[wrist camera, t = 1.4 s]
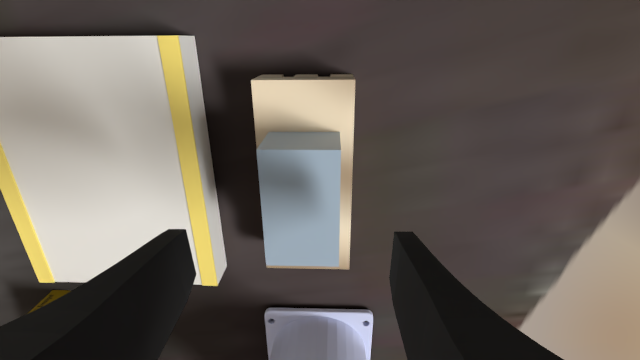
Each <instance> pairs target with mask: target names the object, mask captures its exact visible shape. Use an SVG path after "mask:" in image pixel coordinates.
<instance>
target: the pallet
mask: <svg viewBox="0 0 640 360" xmlns="http://www.w3.org/2000/svg"><path fill="white" fill-rule="evenodd" d="M251 87H252V99H253V111H254V123H255V135H256V146H257V148H258V147H259V145H260V144H261V142H262V141H263V139H264V138H265V137H266V135H267V134H268V132H340V143H341V177H340V233H339V267H328V266H269V265H267V268H307V269H349V260H350V229H351V198H352V167H353V137H354V106H355V78H354V76H353V75H352V74H330V77H318V74H296V75H295V76H294V77H284V74H268V75H260V76H258V77H256V78H254V79H252V80H251Z"/></svg>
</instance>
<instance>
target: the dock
mask: <svg viewBox="0 0 640 360" xmlns="http://www.w3.org/2000/svg"><path fill="white" fill-rule="evenodd" d="M0 189H1V191H2V194H3V196H4V199H5V201H6V203H7V206H8V208H9V211H10V213H11V216H12V218H13V220H14V223H15V225H16V228H17V230H18V232H19V235H20V237H21V240H22V242H23V244H24V247H25V249H26V252H27V254H28V256H29V259H30V261H31V264H32V266H33V268H34V271H35V273H36V276H37V278H38V280H39V283H54V282H87V281H89V280H91V279H92V278H94V277H95V276H97V275H99V274H100V273H102V272H104V271H105V270H107V269H108V268H110V267H112V266H113V265H115V264H116V263H118V262H119V261H121V260H122V259H124V258H125V257H127V256H128V255H130V254H131V253H133V252H134V251H136V250H137V249H139V248H140V247H142V246H143V245H144V244H146V243H147V242H149V241H150V240H152V239H153V238H155V237H156V236H158V235H160V234H161V233H163V232H164V231H166V230H168V229H186V232H187V236H188V240H189V245H190V249H191V253H192V258H193V262H194V266H195V271H196V277H195V280H194V283H193V284H194V285H202V286H218V284H219V282H220V279H221V277H222V275H223V273H224V271H225V269H226V267H227V263H226V256H225V249H224V242H223V235H222V228H221V221H220V214H219V206H218V199H217V192H216V185H215V178H214V171H213V164H212V157H211V150H210V143H209V135H208V128H207V121H206V114H205V107H204V100H203V93H202V86H201V79H200V72H199V64H198V57H197V50H196V43H195V36H179V35H172V36H62V37H0Z"/></svg>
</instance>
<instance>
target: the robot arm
mask: <svg viewBox="0 0 640 360" xmlns="http://www.w3.org/2000/svg"><path fill="white" fill-rule="evenodd" d="M195 277H196V271H195V266H194V262H193V258H192V253H191V249H190V245H189V240H188V236H187V232H186V229H168V230H166V231H164V232H163V233H161V234H160V235H158V236H156V237H155V238H153V239H152V240H150V241H149V242H147V243H146V244H144V245H143V246H142V247H140V248H139V249H137V250H136V251H134V252H133V253H131V254H130V255H128V256H127V257H125V258H124V259H122V260H121V261H119V262H118V263H116V264H115V265H113V266H112V267H110V268H108V269H107V270H105V271H104V272H102V273H100V274H99V275H97V276H95V277H94V278H92V279H91V280H89V281H87V282H86V283H84V284H83V285H81V286H79V287H77V288H76V289H74V290H72V291H70V292H69V293H67V294H65V295H63V296H61V297H60V298H58V299H56V300H54V301H52V302H50V303H48V304H46V305H45V306H43V307H41V308H39V309H37V310H35V311H32V312H30V313H28V314H26V315H24V316H22V317H20V318H18V319H15V320H13V321H11V322H9V323H7V324H5V325H3V326H1V327H0V360H158V358H159V356H160V354H161V352H162V350H163V348H164V346H165V344H166V342H167V340H168V338H169V336H170V334H171V332H172V330H173V328H174V326H175V324H176V323H177V321H178V319H179V317H180V315H181V313H182V311H183V309H184V306H185V304H186V302H187V300H188V297H189V295H190V292H191V289H192V286H193V283H194V280H195ZM389 278H390V286H391V293H392V300H393V306H394V310H395V314H396V318H397V322H398V325H399V329H400V333H401V337H402V340H403V344H404V348H405V352H406V355H407V359H408V360H563V359H562V358H560V357H559V356H557V355H555V354H554V353H552V352H551V351H549V350H547V349H546V348H544V347H542V346H541V345H540V344H538V343H537V342H535V341H534V340H532V339H531V338H529V337H528V336H526V335H525V334H523V333H522V332H521V331H519V330H518V329H516V328H515V327H513V326H512V325H511V324H509V323H508V322H507V321H505V320H504V319H503V318H501V317H500V316H499V315H498V314H496V313H495V312H494V311H492V310H491V309H490V308H489V307H487V306H486V305H485V304H484V303H482V302H481V301H480V300H479V299H478V298H477V297H475V296H474V295H473V294H472V293H471V292H470V291H469V290H468V289H467V288H465V287H464V286H463V285H462V284H461V283H460V282H459V281H458V280H457V279H456V278H455V277H454V276H453V275H452V274H451V273H450V272H449V271H448V270H447V269H446V268H445V267H444V266H443V265H442V264H441V263H440V262H439V261H438V260H437V258H436V257H435V256H434V255H433V254H432V253H431V252H430V251H429V250H428V248H427V247H426V246H425V245H424V244H423V243H422V242H421V241H420V239H419V238H418V237H417V236H416V235H415V234H414V233H413V232H394V241H393V250H392V259H391V268H390V277H389ZM264 317H265V327H266V338H267V349H268V359H269V360H370V356H371V342H372V328H373V314H372V312H371V311H370V310H364V309H318V308H268V309H266V311H265V315H264ZM271 319H274V320H271ZM364 321H368V322H364Z"/></svg>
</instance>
